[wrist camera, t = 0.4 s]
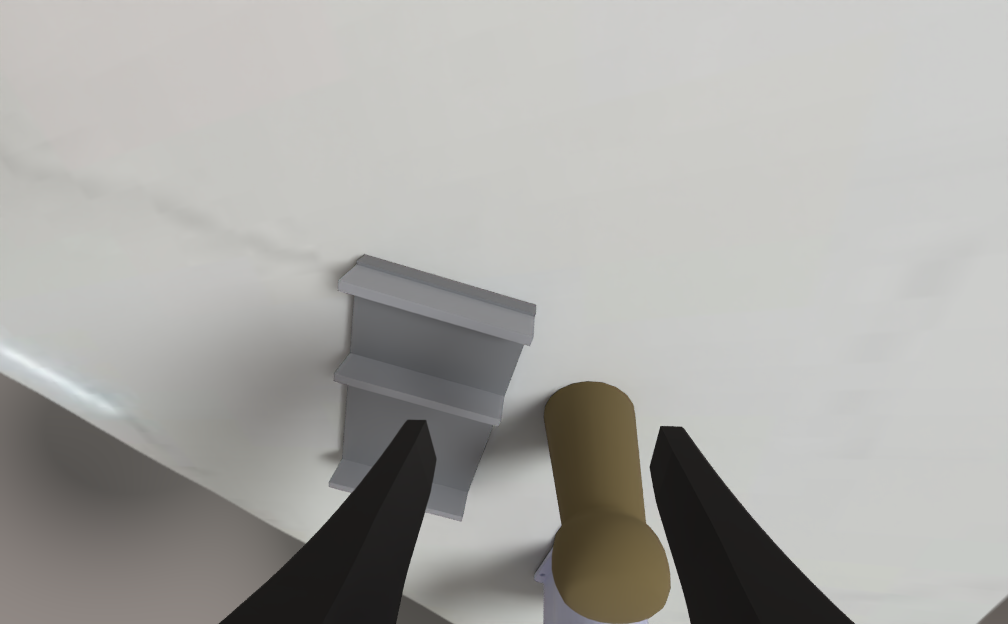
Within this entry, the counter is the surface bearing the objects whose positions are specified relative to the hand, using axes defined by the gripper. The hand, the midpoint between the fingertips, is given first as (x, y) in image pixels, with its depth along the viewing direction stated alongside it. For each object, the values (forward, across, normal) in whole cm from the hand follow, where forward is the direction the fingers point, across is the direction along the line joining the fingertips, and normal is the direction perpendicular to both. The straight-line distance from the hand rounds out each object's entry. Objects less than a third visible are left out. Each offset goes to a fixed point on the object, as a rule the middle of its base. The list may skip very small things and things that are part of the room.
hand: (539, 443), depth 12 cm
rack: (+10, +8, +8) cm, 15 cm away
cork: (+10, -3, +10) cm, 14 cm away
